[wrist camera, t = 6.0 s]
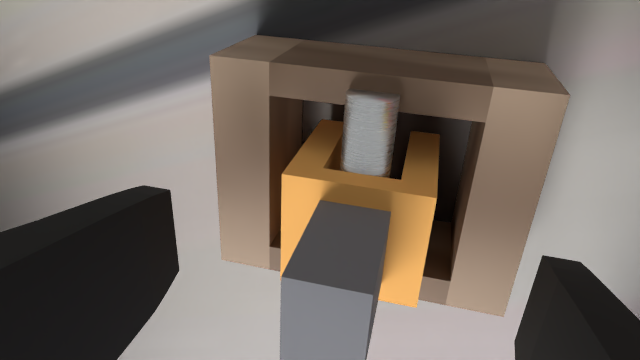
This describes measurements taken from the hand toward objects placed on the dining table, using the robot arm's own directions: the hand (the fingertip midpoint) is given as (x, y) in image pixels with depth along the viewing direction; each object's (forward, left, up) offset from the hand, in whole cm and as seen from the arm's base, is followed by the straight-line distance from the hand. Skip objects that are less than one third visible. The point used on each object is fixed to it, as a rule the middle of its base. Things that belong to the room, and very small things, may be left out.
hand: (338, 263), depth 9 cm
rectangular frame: (0, 0, -6) cm, 6 cm away
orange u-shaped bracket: (-1, 0, -5) cm, 5 cm away
